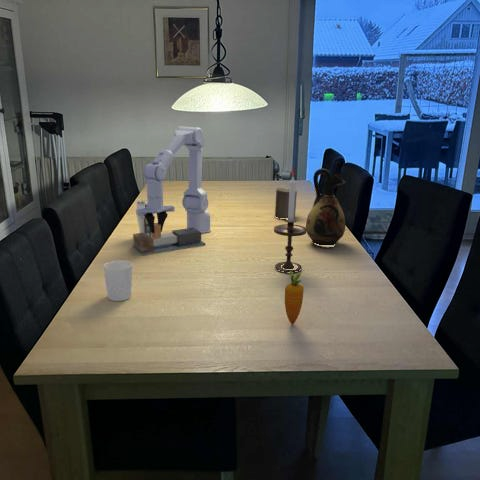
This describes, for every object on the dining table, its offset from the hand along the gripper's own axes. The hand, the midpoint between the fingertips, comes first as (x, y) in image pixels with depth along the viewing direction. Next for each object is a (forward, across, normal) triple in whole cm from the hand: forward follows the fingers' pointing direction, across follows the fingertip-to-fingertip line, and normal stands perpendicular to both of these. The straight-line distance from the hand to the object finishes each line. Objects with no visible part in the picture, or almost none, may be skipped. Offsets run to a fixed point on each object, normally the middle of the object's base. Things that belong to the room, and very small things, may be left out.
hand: (156, 231), depth 190 cm
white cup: (+7, -27, -37) cm, 46 cm away
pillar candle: (+7, +71, +14) cm, 73 cm away
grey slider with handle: (+5, +2, 0) cm, 5 cm away
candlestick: (+7, +31, -42) cm, 53 cm away
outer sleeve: (+6, +5, 0) cm, 8 cm away
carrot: (+7, +7, -76) cm, 77 cm away
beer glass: (+7, +1, +13) cm, 15 cm away
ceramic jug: (+7, +60, -26) cm, 66 cm away
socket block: (+6, -5, 0) cm, 8 cm away
